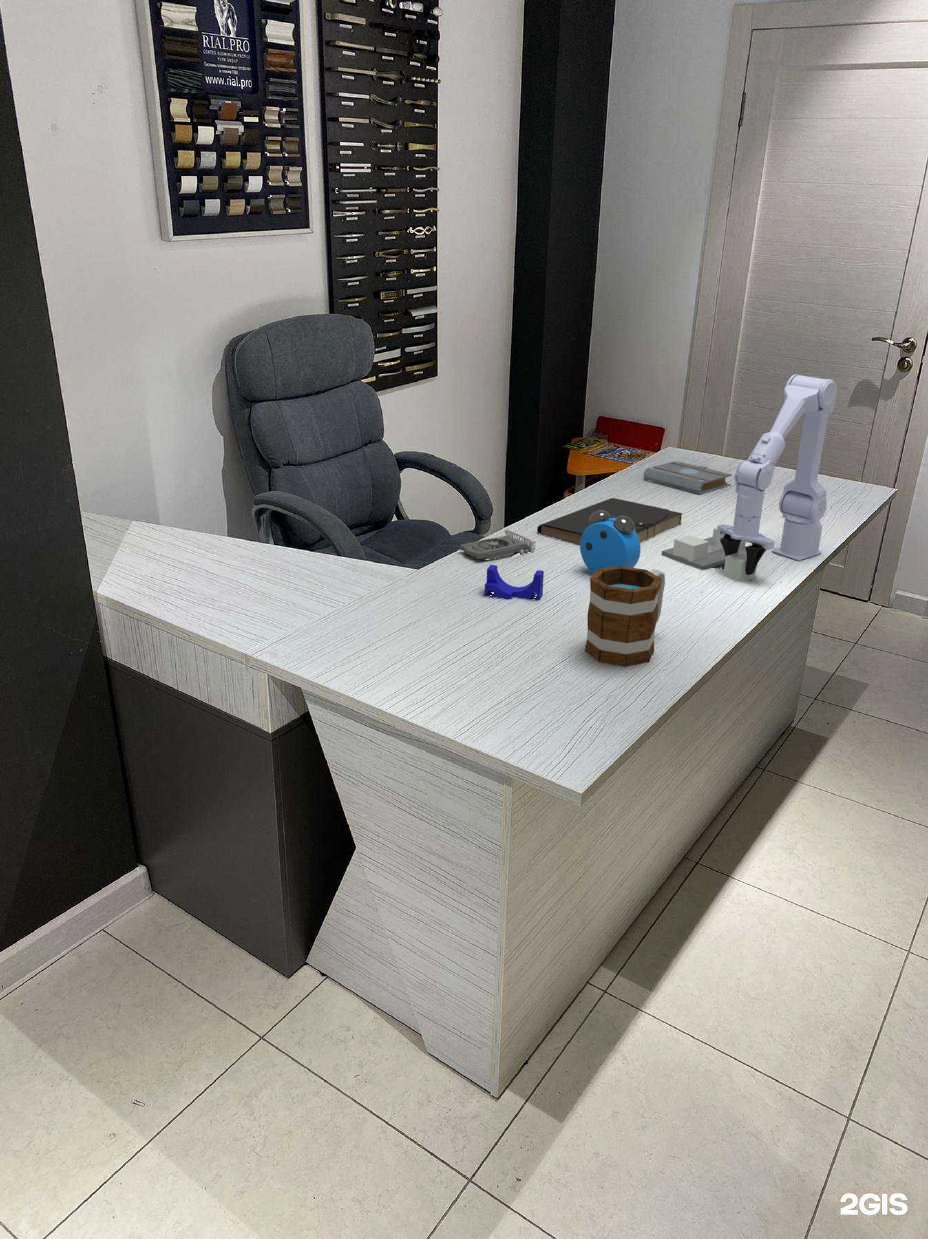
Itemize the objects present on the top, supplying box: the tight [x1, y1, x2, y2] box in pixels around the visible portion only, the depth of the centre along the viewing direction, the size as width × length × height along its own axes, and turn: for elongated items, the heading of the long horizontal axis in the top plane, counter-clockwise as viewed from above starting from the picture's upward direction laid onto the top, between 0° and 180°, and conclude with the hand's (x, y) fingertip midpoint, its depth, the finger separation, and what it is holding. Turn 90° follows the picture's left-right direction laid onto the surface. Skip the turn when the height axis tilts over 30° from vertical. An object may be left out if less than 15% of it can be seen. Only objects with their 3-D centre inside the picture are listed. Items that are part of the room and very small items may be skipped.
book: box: [643, 460, 733, 496], centre depth 294 cm, size 21×16×5 cm
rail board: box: [661, 536, 747, 571], centre depth 235 cm, size 20×13×1 cm, turn 127°
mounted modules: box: [672, 524, 747, 562], centre depth 234 cm, size 20×6×4 cm, turn 127°
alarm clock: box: [579, 510, 641, 574], centre depth 218 cm, size 13×6×15 cm, turn 47°
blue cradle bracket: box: [484, 564, 545, 601], centre depth 208 cm, size 12×4×6 cm, turn 73°
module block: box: [722, 551, 758, 583], centre depth 221 cm, size 6×4×5 cm
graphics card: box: [460, 529, 536, 560], centre depth 235 cm, size 17×4×12 cm
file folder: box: [536, 497, 683, 546], centre depth 252 cm, size 33×4×24 cm
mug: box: [584, 566, 666, 668], centre depth 183 cm, size 20×14×15 cm
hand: (740, 570), depth 221 cm, fingers open, 5 cm apart
